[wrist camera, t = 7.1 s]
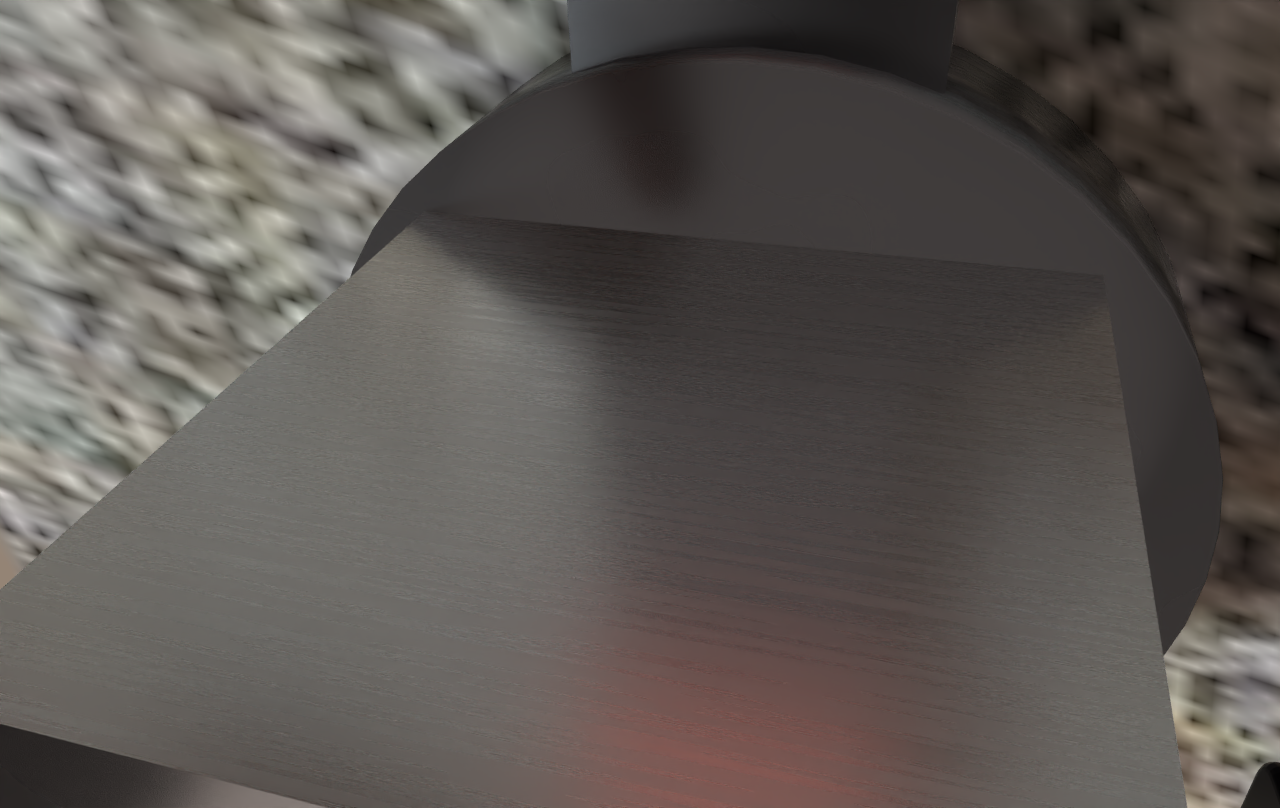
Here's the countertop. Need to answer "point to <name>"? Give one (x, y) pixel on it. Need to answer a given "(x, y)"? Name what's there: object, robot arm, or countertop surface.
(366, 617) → the brushed metal cube
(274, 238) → the countertop surface
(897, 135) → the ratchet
